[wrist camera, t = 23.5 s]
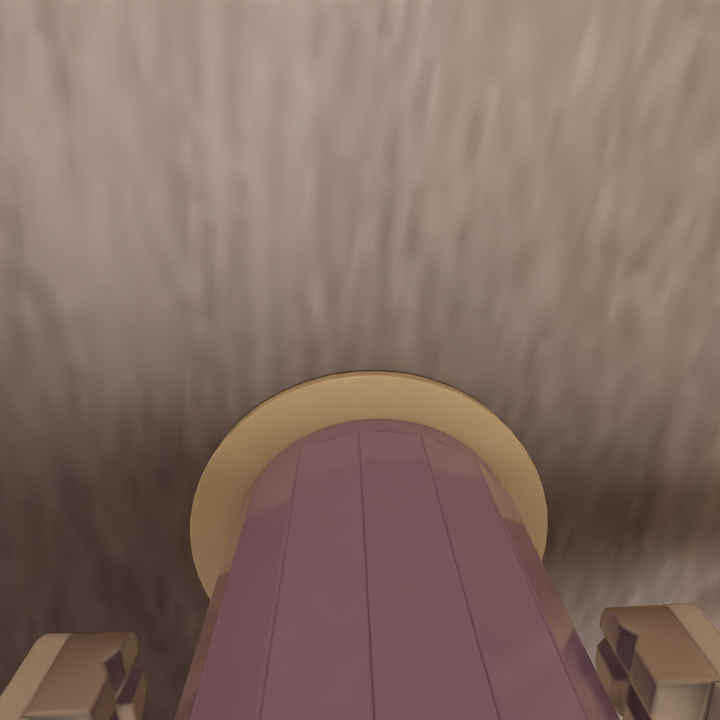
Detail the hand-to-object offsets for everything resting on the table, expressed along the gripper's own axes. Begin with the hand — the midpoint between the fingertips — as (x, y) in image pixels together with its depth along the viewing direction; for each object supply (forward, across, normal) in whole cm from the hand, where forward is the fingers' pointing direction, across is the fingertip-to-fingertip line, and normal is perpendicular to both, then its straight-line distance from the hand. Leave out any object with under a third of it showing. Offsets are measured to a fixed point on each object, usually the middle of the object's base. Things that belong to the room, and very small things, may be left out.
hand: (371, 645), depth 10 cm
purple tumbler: (+3, 0, 0) cm, 3 cm away
